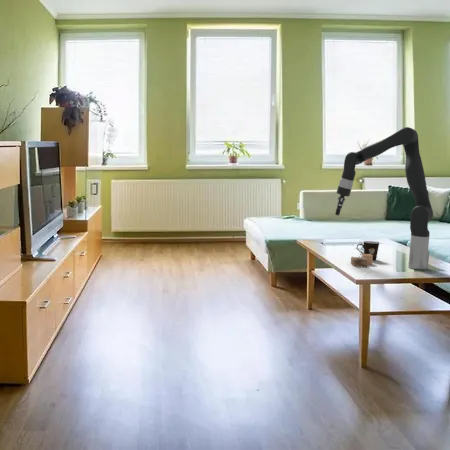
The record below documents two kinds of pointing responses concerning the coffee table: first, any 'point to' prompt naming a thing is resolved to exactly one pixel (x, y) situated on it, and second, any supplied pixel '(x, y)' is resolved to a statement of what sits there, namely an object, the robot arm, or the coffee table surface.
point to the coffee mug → (370, 248)
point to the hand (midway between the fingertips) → (337, 214)
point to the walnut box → (359, 261)
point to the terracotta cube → (368, 258)
